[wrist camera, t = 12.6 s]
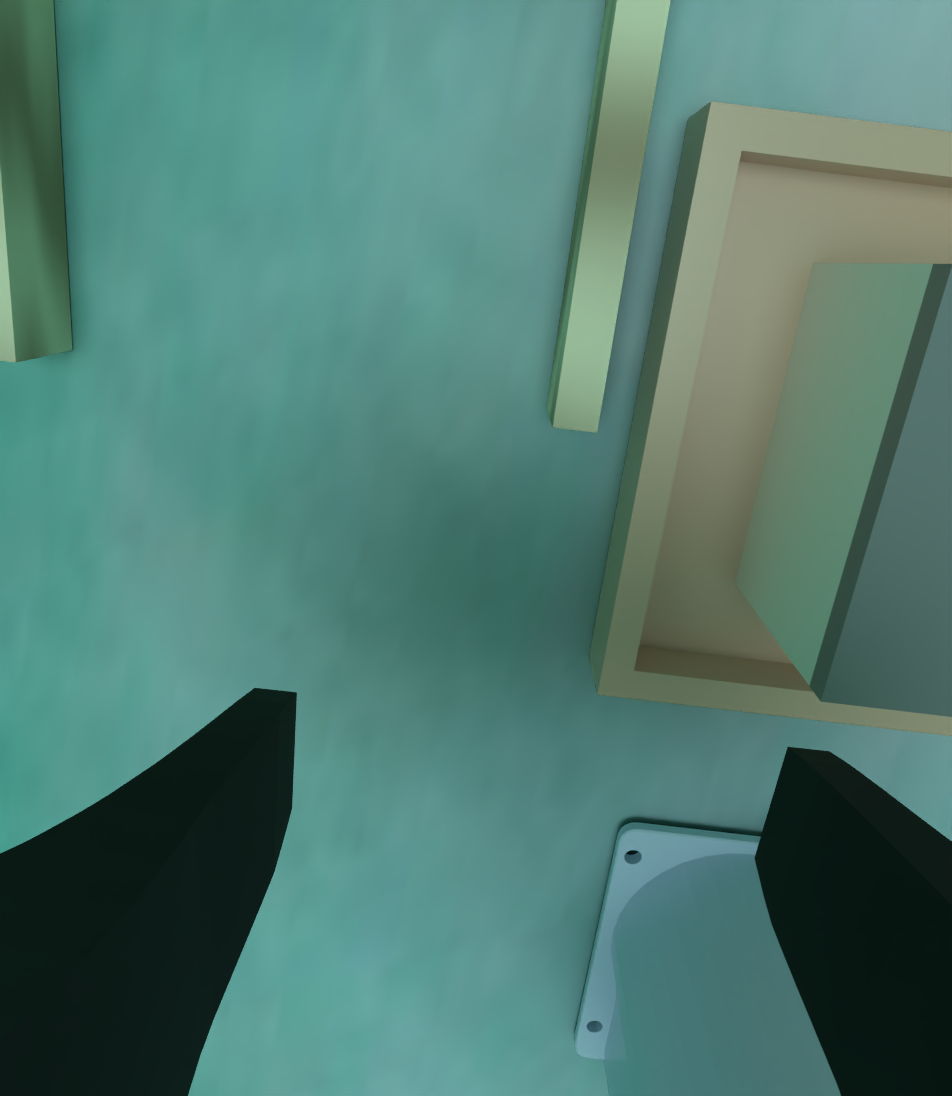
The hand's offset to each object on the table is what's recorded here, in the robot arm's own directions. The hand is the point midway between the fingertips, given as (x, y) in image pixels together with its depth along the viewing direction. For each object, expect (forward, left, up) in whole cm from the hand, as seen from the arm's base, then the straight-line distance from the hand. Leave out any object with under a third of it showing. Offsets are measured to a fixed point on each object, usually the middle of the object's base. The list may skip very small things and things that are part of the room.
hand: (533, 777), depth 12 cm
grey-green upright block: (+4, -8, -10) cm, 13 cm away
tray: (+4, -8, -10) cm, 14 cm away
